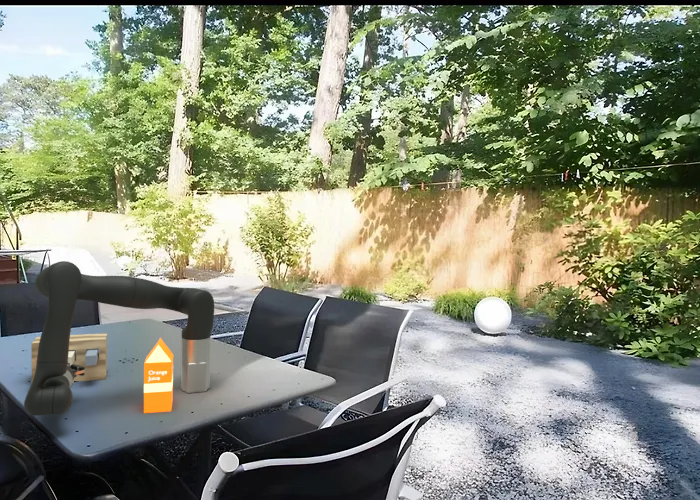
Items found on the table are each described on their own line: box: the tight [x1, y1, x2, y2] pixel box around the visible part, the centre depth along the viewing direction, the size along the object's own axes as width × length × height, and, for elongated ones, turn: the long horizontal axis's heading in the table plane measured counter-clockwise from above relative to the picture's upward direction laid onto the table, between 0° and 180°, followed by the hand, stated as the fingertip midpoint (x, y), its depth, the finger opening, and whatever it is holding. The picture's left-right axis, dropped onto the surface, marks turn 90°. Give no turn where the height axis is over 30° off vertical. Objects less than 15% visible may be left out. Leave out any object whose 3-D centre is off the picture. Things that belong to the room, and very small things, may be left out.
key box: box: [30, 332, 108, 383], centre depth 177 cm, size 10×22×14 cm, turn 112°
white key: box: [68, 350, 76, 366], centre depth 170 cm, size 11×3×3 cm, turn 22°
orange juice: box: [143, 337, 175, 414], centre depth 152 cm, size 8×9×20 cm
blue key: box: [85, 348, 99, 366], centre depth 173 cm, size 11×3×3 cm, turn 22°
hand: (65, 365), depth 162 cm, fingers closed
